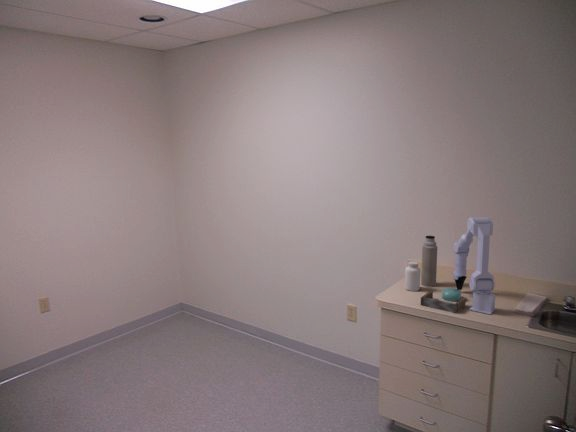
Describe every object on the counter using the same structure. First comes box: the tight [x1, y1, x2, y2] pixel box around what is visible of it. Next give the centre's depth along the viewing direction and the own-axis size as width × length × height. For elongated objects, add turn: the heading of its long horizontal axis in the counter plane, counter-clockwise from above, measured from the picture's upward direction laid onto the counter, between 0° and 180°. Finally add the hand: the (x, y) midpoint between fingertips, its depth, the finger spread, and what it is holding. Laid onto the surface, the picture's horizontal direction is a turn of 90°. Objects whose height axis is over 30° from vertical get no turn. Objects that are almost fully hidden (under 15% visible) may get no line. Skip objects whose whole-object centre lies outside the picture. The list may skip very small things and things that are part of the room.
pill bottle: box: [404, 261, 421, 292], centre depth 231 cm, size 8×8×15 cm
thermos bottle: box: [420, 235, 438, 288], centre depth 237 cm, size 8×8×28 cm
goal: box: [420, 290, 467, 314], centre depth 207 cm, size 17×12×4 cm
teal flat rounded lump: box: [441, 287, 462, 303], centre depth 216 cm, size 9×9×4 cm
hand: (459, 289), depth 225 cm, fingers closed
